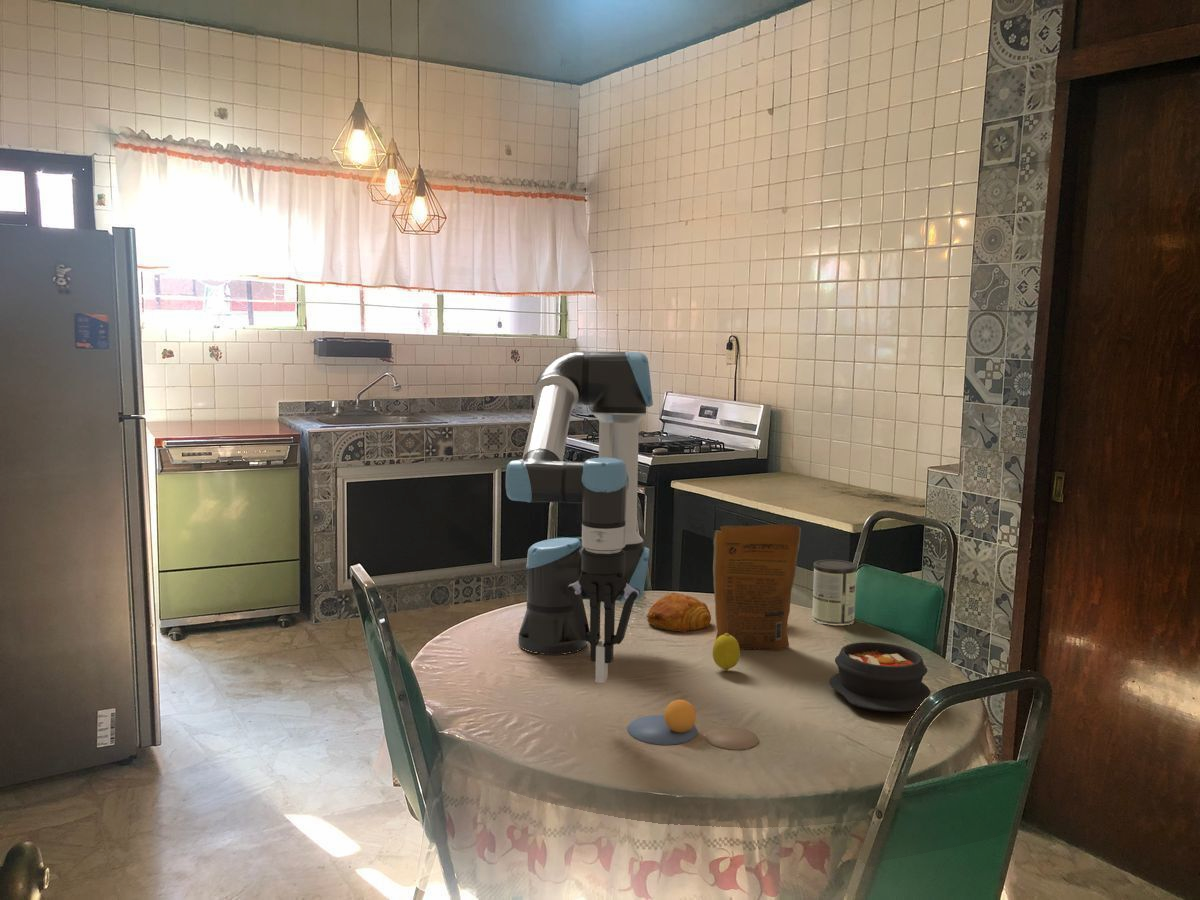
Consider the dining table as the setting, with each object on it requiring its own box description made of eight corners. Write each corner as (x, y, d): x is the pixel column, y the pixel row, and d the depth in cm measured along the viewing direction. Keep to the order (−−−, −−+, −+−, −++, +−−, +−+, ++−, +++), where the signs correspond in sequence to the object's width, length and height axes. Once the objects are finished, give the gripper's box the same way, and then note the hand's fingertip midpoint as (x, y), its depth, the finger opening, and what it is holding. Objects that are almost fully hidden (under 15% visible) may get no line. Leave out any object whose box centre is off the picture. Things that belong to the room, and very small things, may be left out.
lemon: (738, 676, 188) (739, 638, 187) (710, 674, 189) (712, 636, 188) (739, 667, 193) (741, 630, 192) (713, 665, 194) (714, 628, 193)
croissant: (674, 620, 234) (673, 588, 234) (721, 626, 222) (720, 592, 222) (633, 629, 224) (631, 596, 224) (680, 636, 212) (678, 601, 213)
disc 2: (701, 746, 155) (701, 744, 155) (709, 725, 163) (709, 723, 163) (756, 752, 152) (756, 751, 152) (760, 731, 161) (760, 730, 161)
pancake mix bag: (798, 653, 202) (803, 527, 199) (710, 651, 203) (714, 524, 200) (793, 644, 209) (798, 521, 206) (708, 641, 210) (712, 519, 207)
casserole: (937, 726, 164) (940, 681, 163) (829, 715, 169) (831, 670, 168) (923, 678, 189) (925, 638, 188) (828, 669, 193) (830, 630, 192)
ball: (672, 743, 158) (657, 716, 158) (674, 728, 163) (659, 702, 163) (701, 730, 157) (685, 703, 156) (702, 715, 162) (687, 689, 162)
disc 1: (620, 740, 156) (620, 738, 156) (635, 713, 168) (635, 712, 168) (691, 748, 153) (691, 747, 153) (701, 720, 165) (701, 719, 165)
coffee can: (813, 612, 234) (816, 557, 233) (855, 617, 231) (858, 561, 230) (808, 623, 225) (811, 566, 223) (852, 628, 221) (855, 570, 220)
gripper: (560, 550, 158) (559, 683, 161) (635, 556, 155) (633, 692, 158) (573, 540, 165) (571, 668, 168) (645, 546, 162) (642, 676, 165)
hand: (601, 679), depth 163 cm, fingers closed
